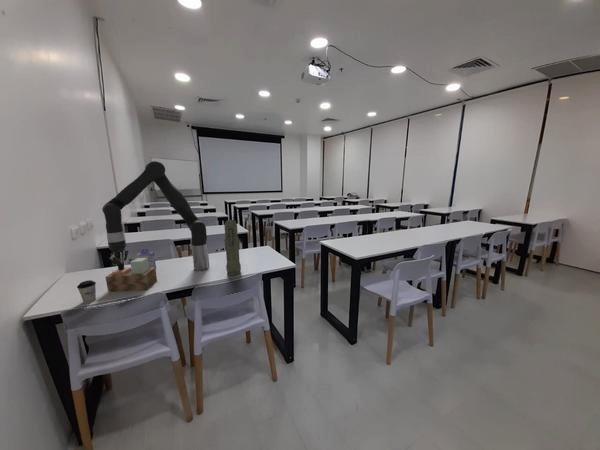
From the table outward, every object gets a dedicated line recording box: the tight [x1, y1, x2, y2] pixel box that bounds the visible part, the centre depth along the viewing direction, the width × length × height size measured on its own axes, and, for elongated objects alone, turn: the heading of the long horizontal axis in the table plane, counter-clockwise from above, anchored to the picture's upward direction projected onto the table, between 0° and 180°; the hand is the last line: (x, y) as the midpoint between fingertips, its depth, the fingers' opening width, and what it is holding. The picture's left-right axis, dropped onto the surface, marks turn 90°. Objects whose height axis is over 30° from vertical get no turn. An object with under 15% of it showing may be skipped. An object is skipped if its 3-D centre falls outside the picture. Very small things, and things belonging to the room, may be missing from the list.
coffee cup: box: [76, 279, 97, 304], centre depth 114 cm, size 7×7×10 cm
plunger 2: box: [130, 257, 150, 274], centre depth 128 cm, size 6×6×10 cm
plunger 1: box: [111, 266, 131, 275], centre depth 128 cm, size 6×6×10 cm
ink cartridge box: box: [135, 248, 157, 269], centre depth 151 cm, size 10×6×14 cm, turn 116°
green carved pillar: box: [223, 219, 242, 277], centre depth 144 cm, size 9×12×35 cm
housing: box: [105, 267, 158, 293], centre depth 129 cm, size 20×11×9 cm, turn 96°
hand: (121, 269), depth 127 cm, fingers closed
